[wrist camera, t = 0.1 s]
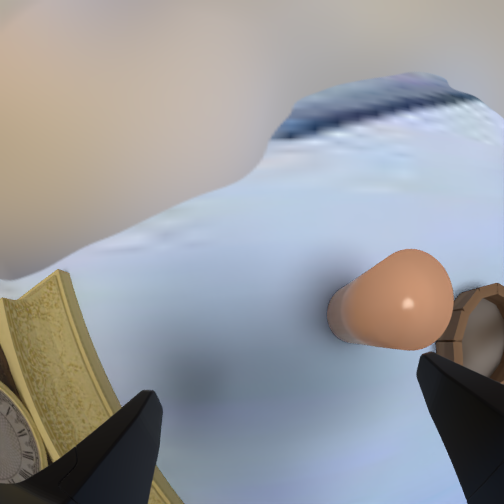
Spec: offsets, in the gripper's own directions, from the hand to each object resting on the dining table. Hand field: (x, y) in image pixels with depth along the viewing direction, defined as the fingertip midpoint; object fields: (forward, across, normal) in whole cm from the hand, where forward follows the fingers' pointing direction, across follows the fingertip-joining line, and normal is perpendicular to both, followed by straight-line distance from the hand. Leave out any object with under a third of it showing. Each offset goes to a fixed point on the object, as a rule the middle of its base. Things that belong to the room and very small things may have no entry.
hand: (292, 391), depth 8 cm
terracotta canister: (+14, -7, +6) cm, 16 cm away
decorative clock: (+9, +21, +14) cm, 27 cm away
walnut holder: (+11, -19, +11) cm, 25 cm away
